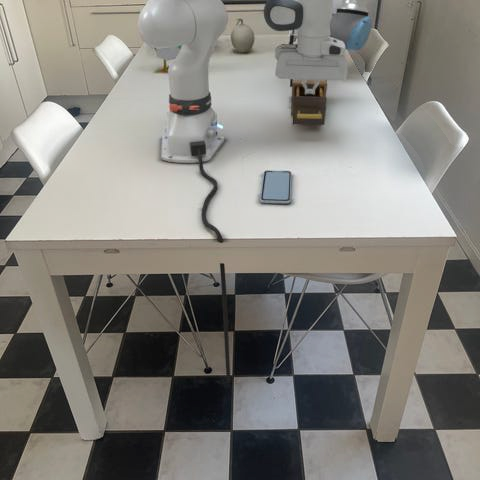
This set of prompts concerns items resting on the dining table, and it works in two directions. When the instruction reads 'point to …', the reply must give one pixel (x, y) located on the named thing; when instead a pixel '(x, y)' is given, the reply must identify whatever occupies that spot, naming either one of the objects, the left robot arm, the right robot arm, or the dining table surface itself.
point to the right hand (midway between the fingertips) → (308, 85)
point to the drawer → (309, 107)
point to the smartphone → (276, 187)
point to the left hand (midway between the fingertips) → (309, 93)
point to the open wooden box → (309, 84)
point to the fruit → (242, 37)
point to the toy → (167, 55)
